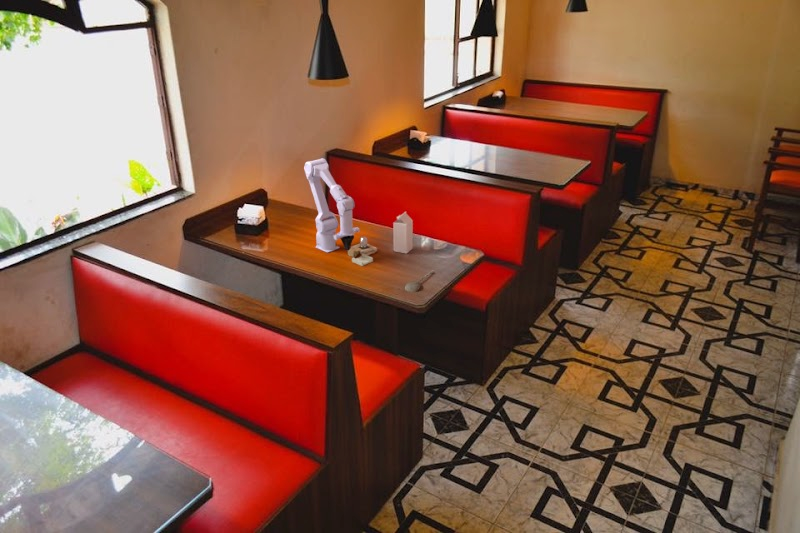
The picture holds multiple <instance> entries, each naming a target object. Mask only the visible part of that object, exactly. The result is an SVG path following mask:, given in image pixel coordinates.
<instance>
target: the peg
mask: <svg viewBox="0 0 800 533" xmlns="http://www.w3.org/2000/svg"><path fill="white" fill-rule="evenodd" d="M359 239H360V241H359V242H360V243H361V249H362V250H365V249H367V244H368V237H367V236H361V237H360V238H359Z"/></svg>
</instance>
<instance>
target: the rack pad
mask: <svg viewBox="0 0 800 533" xmlns="http://www.w3.org/2000/svg"><path fill="white" fill-rule="evenodd" d="M351 262H352V263H353V264H357V265H359V266H361V267H363V266H365V265H369V264H371V263H372V262H374V258H373V257H372V256H370V255H365V254H362V255H360V256H359V257H357V258H355V257H351Z"/></svg>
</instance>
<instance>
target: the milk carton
mask: <svg viewBox="0 0 800 533" xmlns="http://www.w3.org/2000/svg"><path fill="white" fill-rule="evenodd" d="M413 221H414V220H413V219H412V218H411V217H410V215H408V213H407V211H404V212H403V213H402V214H399V215H398V216H396V220H395V221H394V222H392V224H393V225H392V226H393V233H392V234H393V236H392V237H393V243H392V244H393V252H395V253H396V252H397V253H400V254H401V253H402V254H408V253H409V252H410V251H412V249H413V247H414V246H413V239H414V238H413V231H414V230H413V229H414V227H413V225H414V223H413Z"/></svg>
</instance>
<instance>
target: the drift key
mask: <svg viewBox="0 0 800 533" xmlns="http://www.w3.org/2000/svg"><path fill="white" fill-rule="evenodd" d="M360 250H362V249H361V248H357V249H355V250H354V249H352V248H351V247H350V250H348V251H347V256H349V257H351V258H355V257H357V256H358V255H361V254H360Z"/></svg>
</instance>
